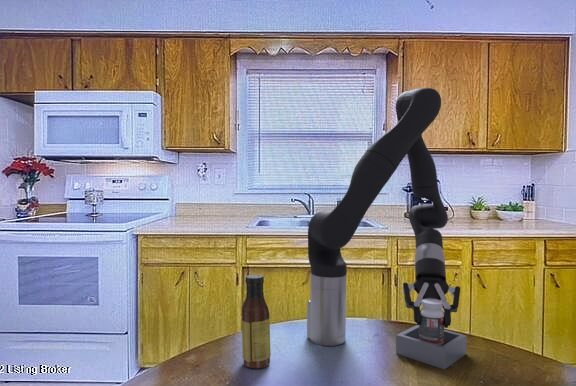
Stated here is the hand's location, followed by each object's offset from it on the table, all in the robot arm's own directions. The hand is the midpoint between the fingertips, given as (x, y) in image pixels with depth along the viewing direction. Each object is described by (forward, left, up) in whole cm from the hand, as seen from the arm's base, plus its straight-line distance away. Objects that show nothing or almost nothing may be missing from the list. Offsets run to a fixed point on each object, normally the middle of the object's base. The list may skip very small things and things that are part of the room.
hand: (432, 324), depth 101 cm
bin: (-1, +1, -8) cm, 8 cm away
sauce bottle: (-26, -33, -8) cm, 42 cm away
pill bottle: (-1, +2, -5) cm, 5 cm away
